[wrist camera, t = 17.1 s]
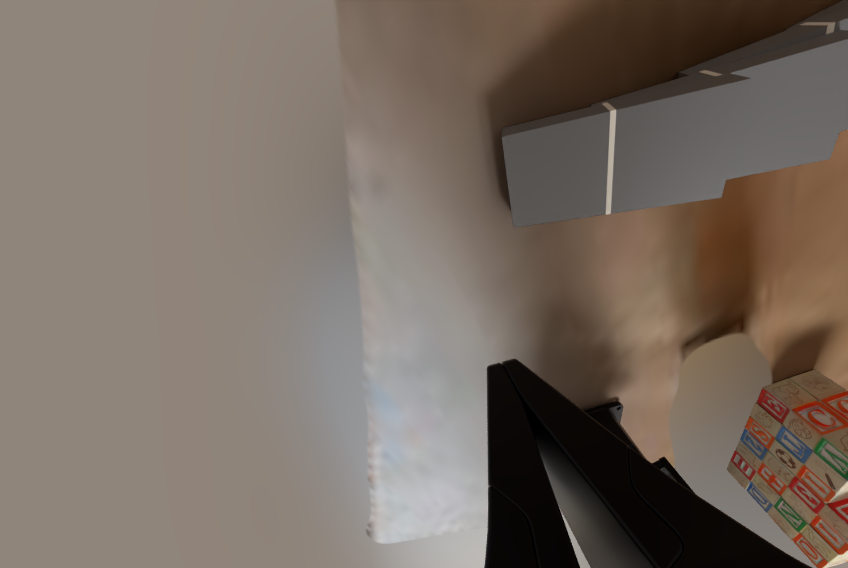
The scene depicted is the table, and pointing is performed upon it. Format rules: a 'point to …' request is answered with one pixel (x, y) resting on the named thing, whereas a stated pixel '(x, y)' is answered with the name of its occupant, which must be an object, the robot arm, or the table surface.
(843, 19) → the domino
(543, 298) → the table surface
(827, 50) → the domino
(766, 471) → the stack of blocks
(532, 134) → the domino
